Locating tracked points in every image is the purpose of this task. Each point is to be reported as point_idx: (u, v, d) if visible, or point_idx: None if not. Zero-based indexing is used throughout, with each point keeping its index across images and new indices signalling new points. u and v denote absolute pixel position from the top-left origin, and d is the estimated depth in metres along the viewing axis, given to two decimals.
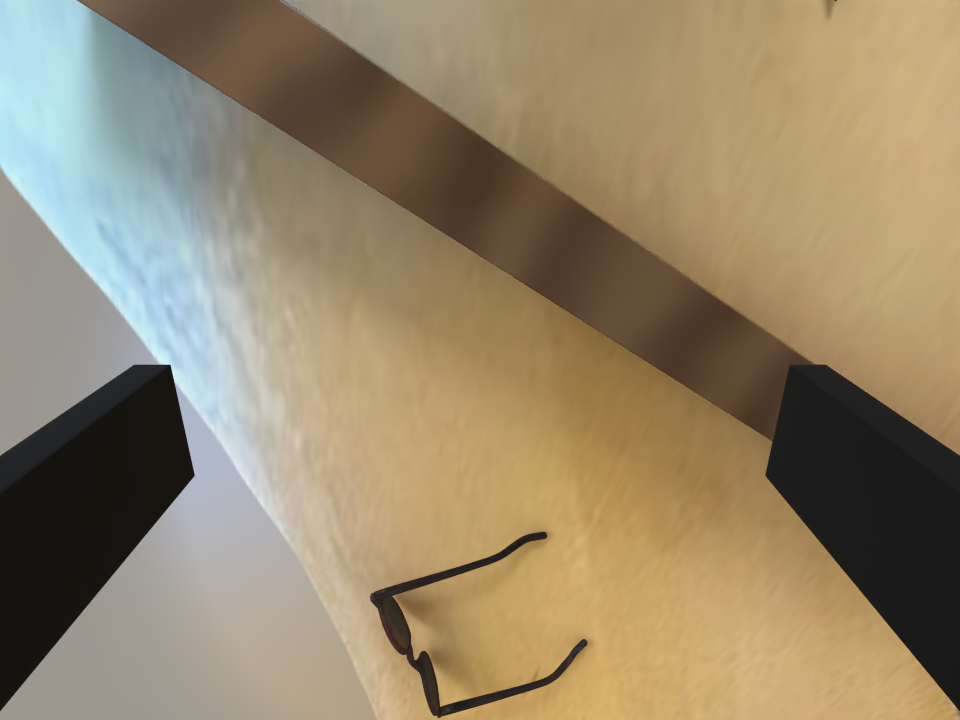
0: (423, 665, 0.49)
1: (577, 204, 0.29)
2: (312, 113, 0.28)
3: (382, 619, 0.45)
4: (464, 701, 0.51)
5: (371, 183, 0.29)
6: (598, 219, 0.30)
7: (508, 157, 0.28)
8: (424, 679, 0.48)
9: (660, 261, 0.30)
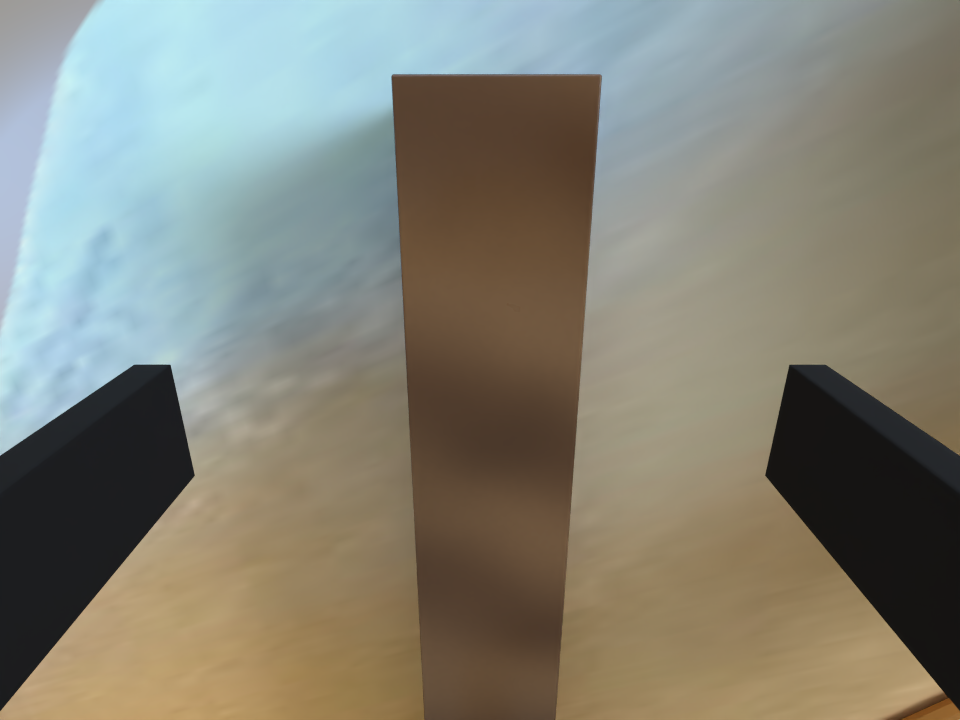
0: None
1: None
2: (460, 597, 0.20)
3: None
4: None
5: (426, 679, 0.21)
6: None
7: None
8: None
9: None
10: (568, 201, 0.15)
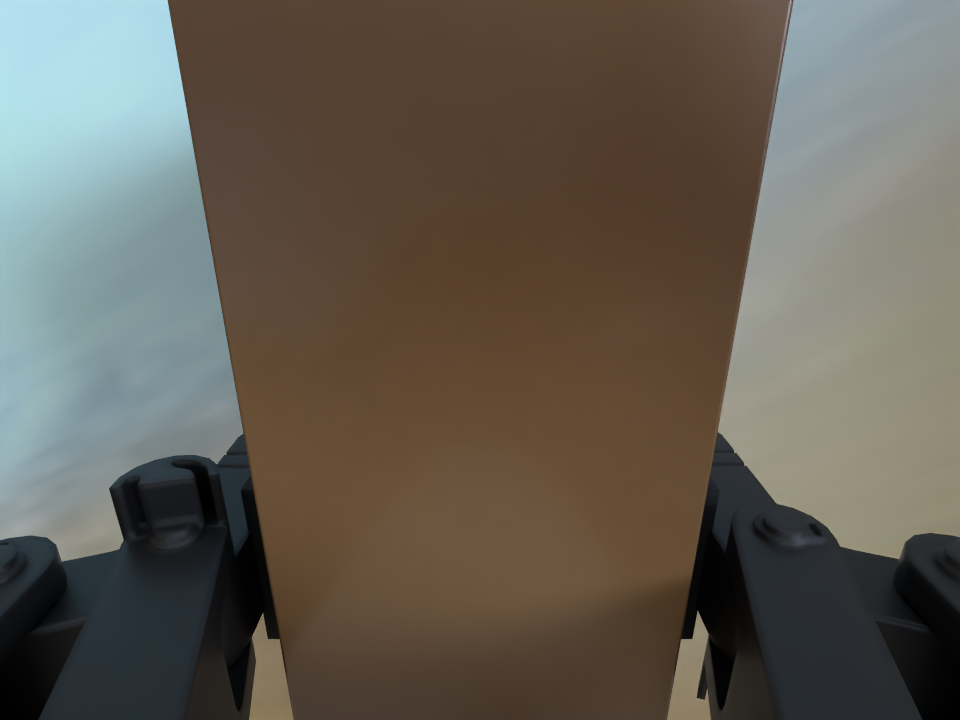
0: None
1: None
2: None
3: None
4: None
5: None
6: None
7: None
8: None
9: None
10: (674, 322, 0.06)
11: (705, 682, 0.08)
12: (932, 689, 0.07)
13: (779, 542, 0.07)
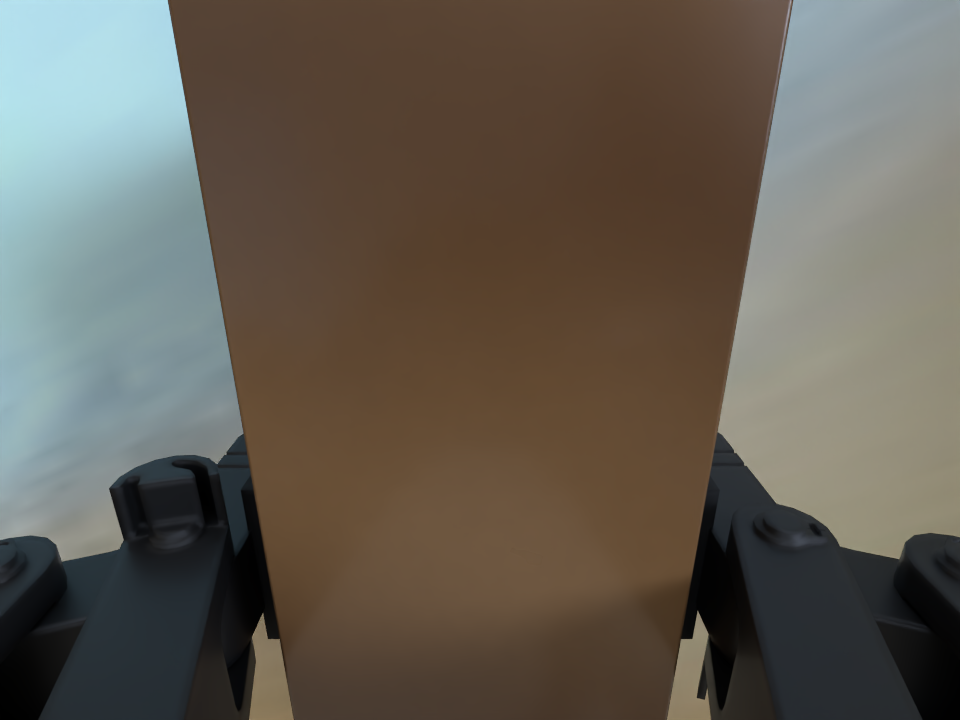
0: None
1: None
2: None
3: None
4: None
5: None
6: None
7: None
8: None
9: None
10: (674, 322, 0.06)
11: (705, 682, 0.08)
12: (932, 689, 0.07)
13: (779, 542, 0.07)
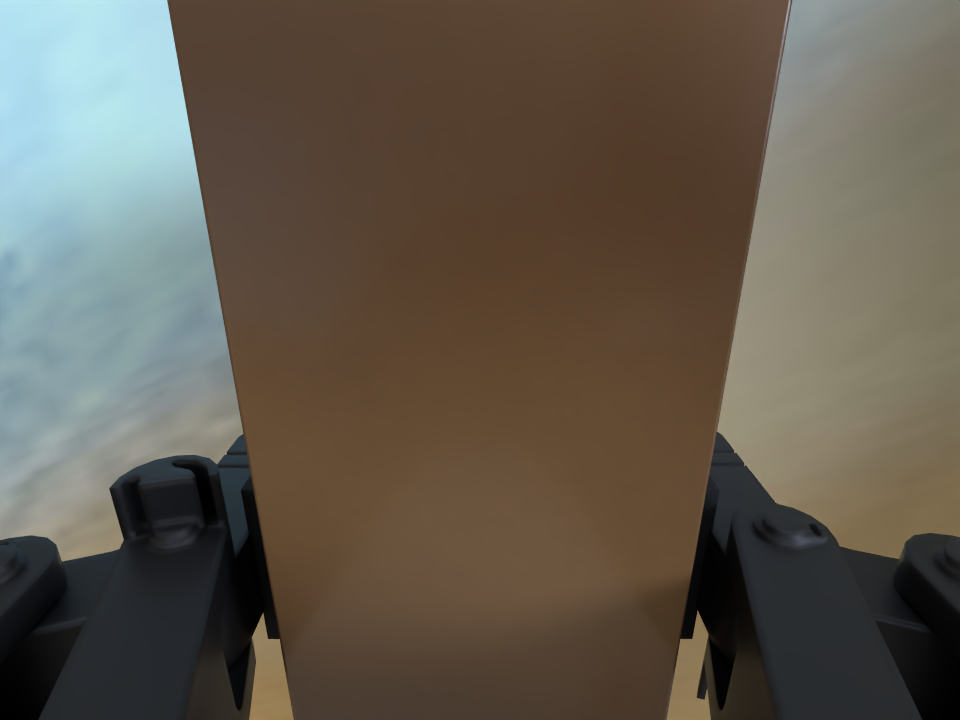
0: None
1: None
2: None
3: None
4: None
5: None
6: None
7: None
8: None
9: None
10: (673, 324, 0.06)
11: (705, 682, 0.08)
12: (932, 689, 0.07)
13: (779, 542, 0.07)
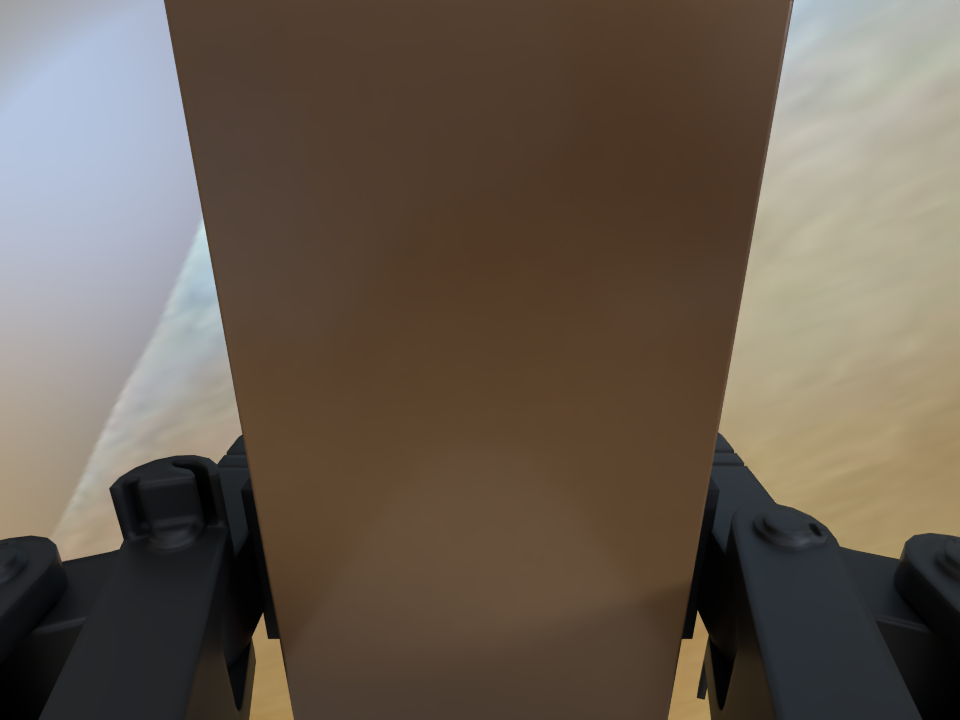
0: None
1: None
2: None
3: None
4: None
5: None
6: None
7: None
8: None
9: None
10: (674, 323, 0.06)
11: (705, 682, 0.08)
12: (932, 689, 0.07)
13: (780, 543, 0.07)
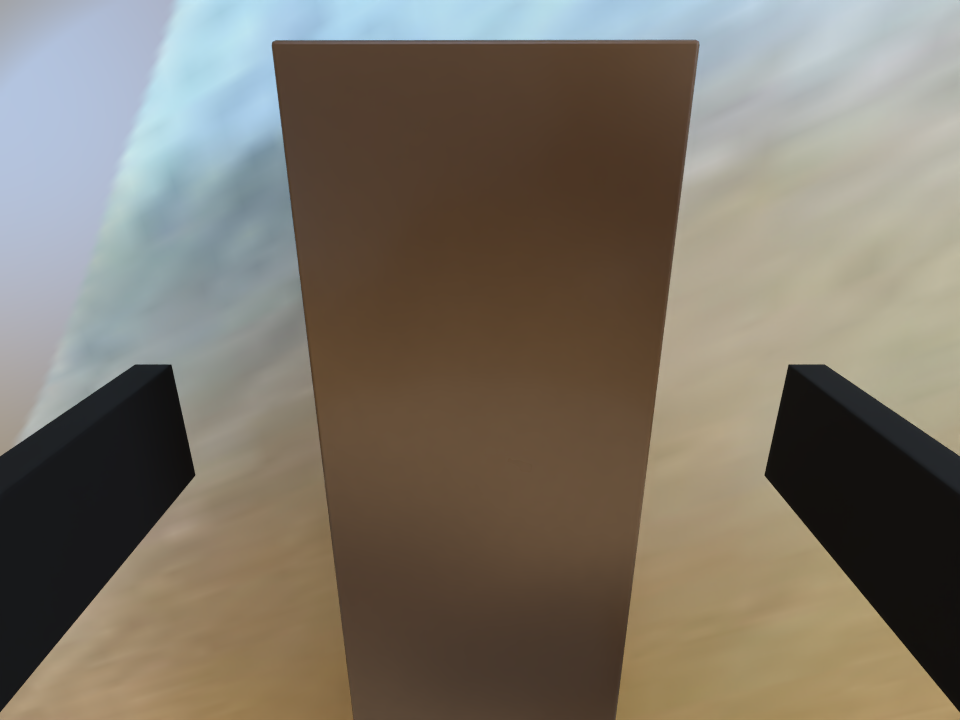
0: None
1: None
2: None
3: None
4: None
5: None
6: None
7: None
8: None
9: None
10: (624, 285, 0.08)
11: None
12: None
13: None
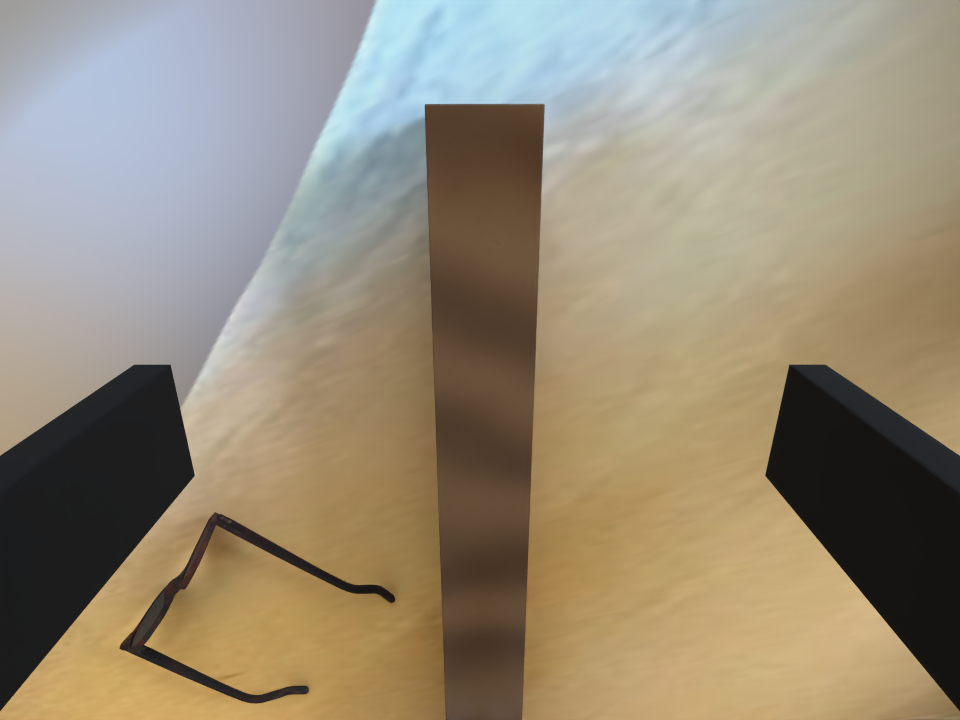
0: (171, 601, 0.41)
1: (524, 633, 0.35)
2: (464, 441, 0.30)
3: (203, 546, 0.37)
4: (159, 654, 0.43)
5: (441, 504, 0.31)
6: (523, 650, 0.35)
7: (525, 579, 0.33)
8: (161, 616, 0.40)
9: (521, 697, 0.37)
10: (527, 177, 0.25)
11: None
12: None
13: None
